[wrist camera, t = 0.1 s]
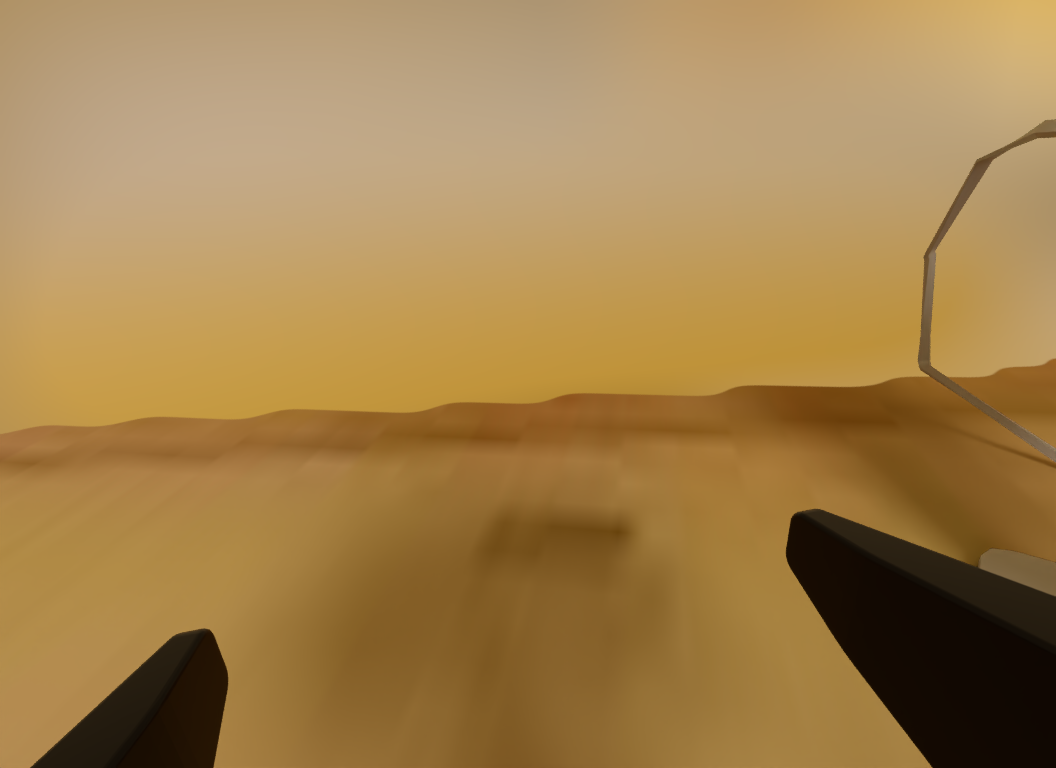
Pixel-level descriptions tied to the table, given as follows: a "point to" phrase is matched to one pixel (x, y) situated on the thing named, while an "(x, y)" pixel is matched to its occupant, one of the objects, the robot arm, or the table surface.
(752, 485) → the table surface
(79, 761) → the robot arm
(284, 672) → the table surface
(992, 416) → the pale grey desk fan
